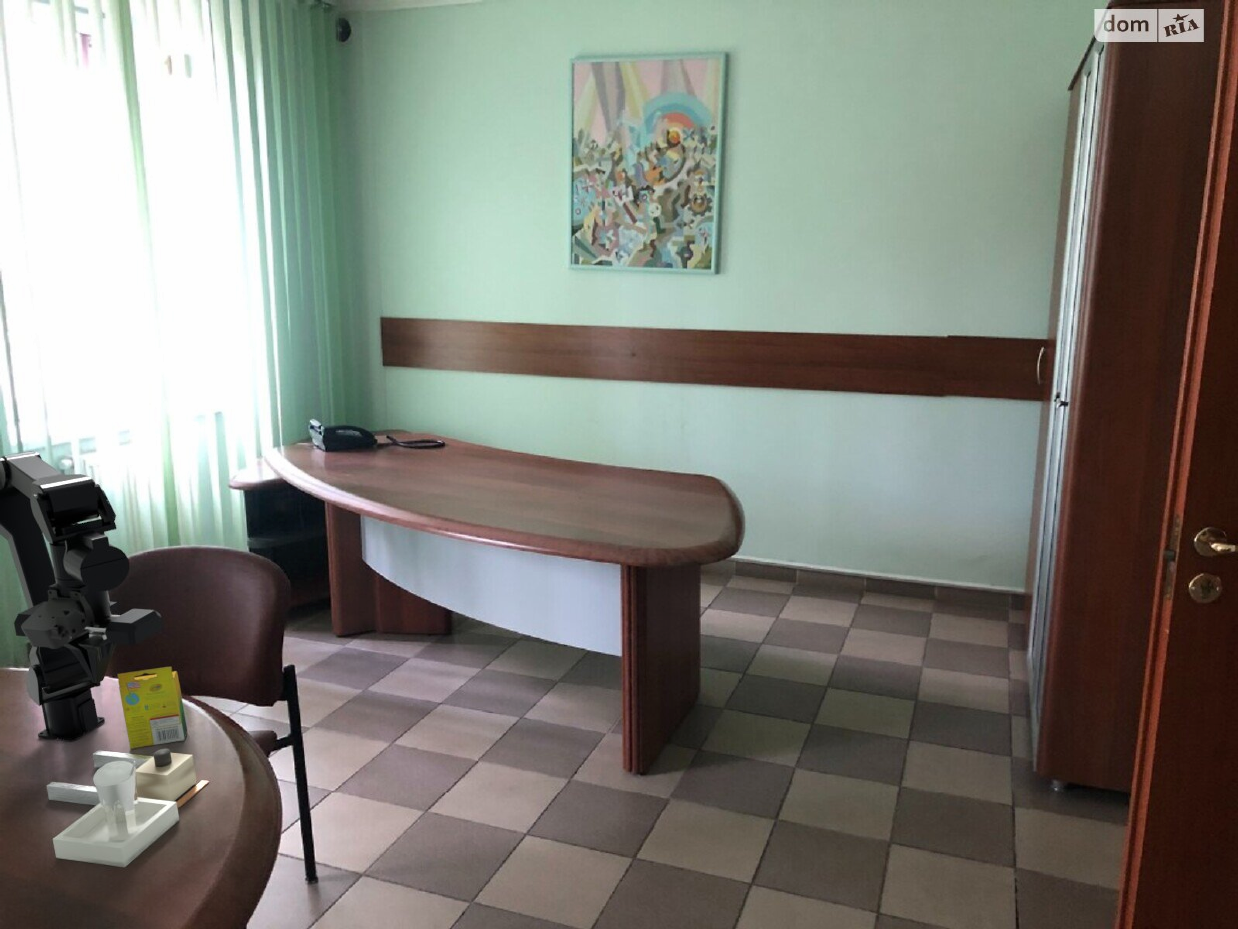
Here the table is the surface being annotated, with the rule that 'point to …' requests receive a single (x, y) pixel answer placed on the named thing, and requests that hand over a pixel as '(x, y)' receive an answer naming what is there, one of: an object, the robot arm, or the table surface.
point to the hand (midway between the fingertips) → (98, 681)
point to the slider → (165, 776)
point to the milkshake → (118, 798)
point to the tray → (96, 846)
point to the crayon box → (152, 707)
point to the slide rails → (89, 792)
